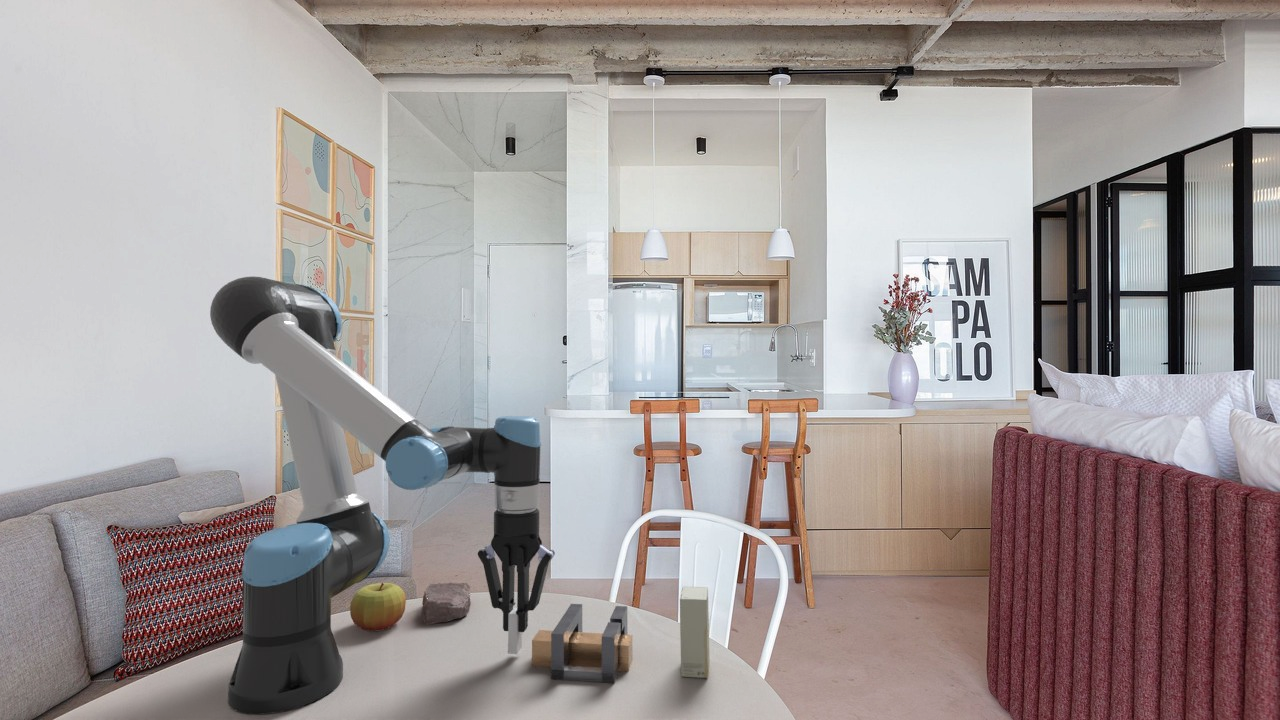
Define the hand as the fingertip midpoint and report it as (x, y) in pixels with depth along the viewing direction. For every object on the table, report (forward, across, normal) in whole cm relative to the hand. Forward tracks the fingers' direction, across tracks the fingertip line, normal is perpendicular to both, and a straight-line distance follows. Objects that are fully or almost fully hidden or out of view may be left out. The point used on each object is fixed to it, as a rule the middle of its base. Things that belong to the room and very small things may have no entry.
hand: (515, 650), depth 103 cm
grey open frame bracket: (+1, +13, 0) cm, 13 cm away
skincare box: (+1, +30, 0) cm, 30 cm away
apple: (+2, -30, +9) cm, 31 cm away
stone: (+2, -20, +18) cm, 27 cm away
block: (+1, +12, 0) cm, 12 cm away
